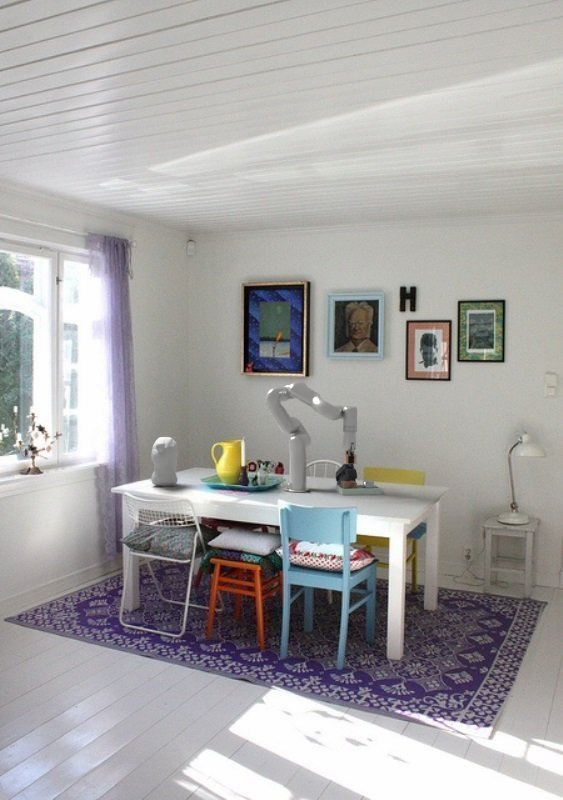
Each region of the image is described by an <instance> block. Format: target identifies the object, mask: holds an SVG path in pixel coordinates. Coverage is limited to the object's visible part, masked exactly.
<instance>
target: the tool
mask: <svg viewBox="0 0 563 800" xmlns="http://www.w3.org/2000/svg"><path fill="white" fill-rule="evenodd" d="M354 465H355V464H345V463H343V464H342V465H341V466H340V467H339V468H338V469H337V470H336V471H335V474H334V475H335V481H336V485H341V481H355V482H356V483H357V481H356V480H357V479H358V474H357V473H358V472H357V469H356V468H355V466H354Z"/></svg>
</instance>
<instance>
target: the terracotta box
mask: <svg viewBox="0 0 563 800" xmlns="http://www.w3.org/2000/svg"><path fill="white" fill-rule="evenodd" d="M342 454H343V455H342V458H343V460H342V462H343V464H349V463H348V456H349V454H345V453H342ZM353 465H357V454H356V453H354V464H353Z"/></svg>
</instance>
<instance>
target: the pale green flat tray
mask: <svg viewBox="0 0 563 800" xmlns="http://www.w3.org/2000/svg"><path fill="white" fill-rule="evenodd" d="M335 486H336V488H335V491H336V493H338V494H340V495H341V496H361V495H363V496H366V495H374V496H375V495H382V487H380V486H378V485H377V484H374V488H363V484H357V489H343V488H341V485H337V484H336V485H335Z"/></svg>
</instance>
